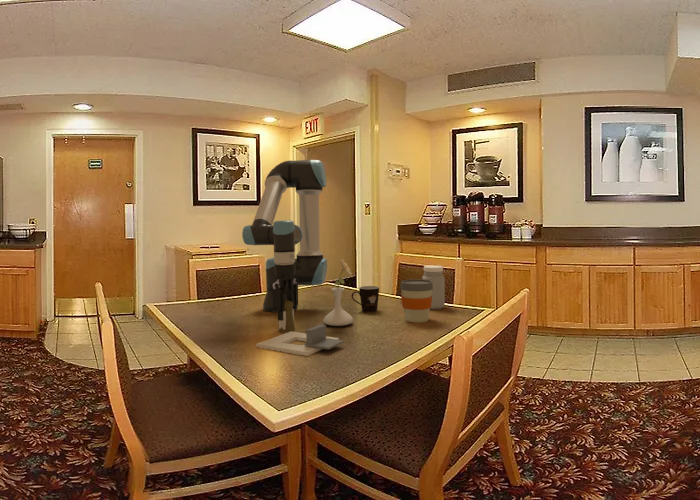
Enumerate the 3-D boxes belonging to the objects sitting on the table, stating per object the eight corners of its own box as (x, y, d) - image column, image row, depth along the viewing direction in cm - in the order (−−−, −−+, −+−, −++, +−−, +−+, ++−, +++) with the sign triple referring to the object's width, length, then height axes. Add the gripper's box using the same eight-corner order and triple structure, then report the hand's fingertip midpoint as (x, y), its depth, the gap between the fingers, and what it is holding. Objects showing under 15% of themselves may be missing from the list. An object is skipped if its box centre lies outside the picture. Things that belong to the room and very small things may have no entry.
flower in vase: (343, 329, 182) (341, 261, 180) (317, 326, 188) (315, 259, 186) (361, 322, 193) (360, 257, 191) (336, 319, 199) (335, 256, 197)
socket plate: (256, 347, 161) (256, 343, 161) (290, 334, 176) (290, 331, 176) (307, 356, 151) (307, 352, 151) (339, 341, 166) (339, 338, 166)
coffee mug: (380, 308, 218) (379, 285, 217) (379, 312, 210) (378, 289, 209) (353, 308, 219) (352, 285, 218) (351, 312, 211) (351, 289, 210)
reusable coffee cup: (412, 324, 188) (412, 285, 186) (394, 318, 199) (394, 281, 197) (439, 320, 193) (439, 282, 192) (420, 314, 204) (420, 278, 203)
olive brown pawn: (278, 328, 185) (277, 299, 184) (295, 328, 186) (294, 298, 185) (277, 333, 179) (276, 302, 178) (294, 332, 180) (294, 302, 179)
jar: (419, 309, 216) (419, 267, 214) (425, 304, 225) (424, 264, 223) (442, 310, 212) (442, 268, 211) (446, 306, 221) (446, 265, 220)
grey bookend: (304, 345, 157) (303, 329, 156) (320, 338, 164) (320, 323, 164) (328, 349, 152) (328, 333, 152) (344, 342, 160) (343, 326, 159)
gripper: (277, 266, 171) (279, 334, 173) (307, 261, 186) (308, 323, 188) (260, 265, 175) (263, 331, 177) (291, 260, 190) (292, 321, 192)
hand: (286, 327), depth 182 cm, fingers closed on olive brown pawn, 4 cm apart
